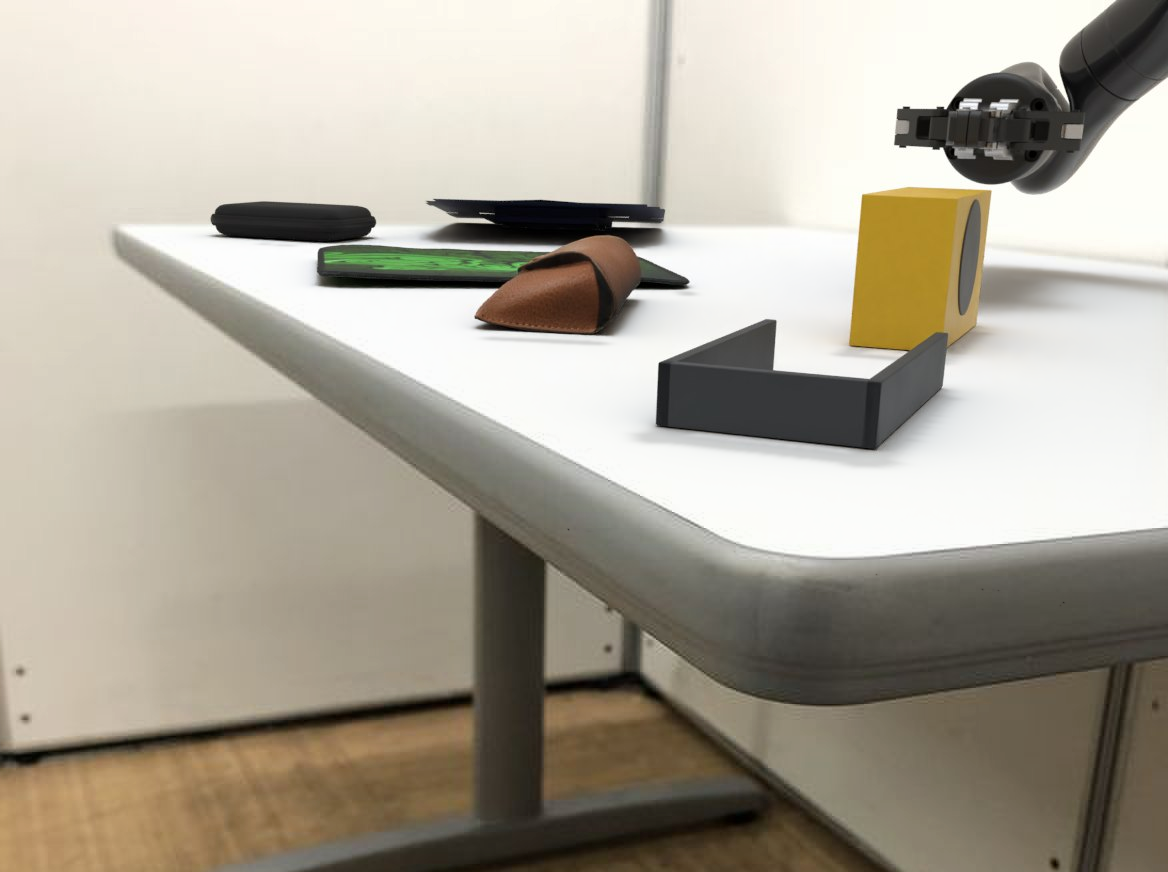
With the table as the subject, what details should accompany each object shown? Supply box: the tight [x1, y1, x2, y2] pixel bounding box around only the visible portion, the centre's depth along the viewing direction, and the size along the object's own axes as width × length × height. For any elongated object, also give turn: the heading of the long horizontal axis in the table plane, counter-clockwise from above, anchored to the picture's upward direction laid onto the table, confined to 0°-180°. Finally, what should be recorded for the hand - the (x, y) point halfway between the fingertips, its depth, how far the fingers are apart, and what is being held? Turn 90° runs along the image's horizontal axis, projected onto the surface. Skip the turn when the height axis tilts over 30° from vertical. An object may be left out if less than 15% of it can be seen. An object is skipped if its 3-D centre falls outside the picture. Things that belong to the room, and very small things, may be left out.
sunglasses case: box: [473, 234, 641, 335], centre depth 87 cm, size 18×7×7 cm
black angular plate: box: [425, 198, 666, 239], centre depth 149 cm, size 24×30×4 cm
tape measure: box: [848, 186, 993, 351], centre depth 81 cm, size 13×5×8 cm, turn 157°
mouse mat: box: [316, 244, 691, 286], centre depth 110 cm, size 27×22×1 cm
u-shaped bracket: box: [655, 318, 948, 450], centre depth 60 cm, size 15×9×2 cm, turn 157°
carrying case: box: [209, 200, 377, 242], centre depth 139 cm, size 11×3×15 cm
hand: (967, 129), depth 88 cm, fingers closed
